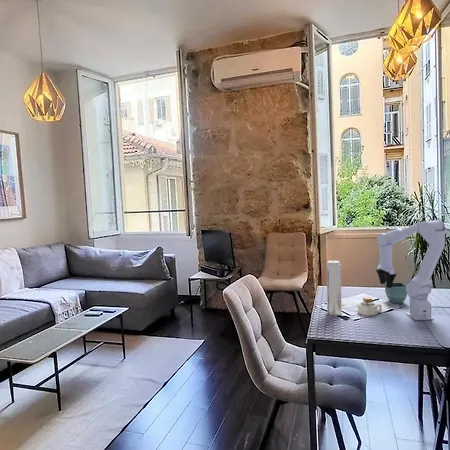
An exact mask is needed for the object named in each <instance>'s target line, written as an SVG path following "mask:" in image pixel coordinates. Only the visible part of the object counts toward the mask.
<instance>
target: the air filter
mask: <svg viewBox="0 0 450 450" xmlns="http://www.w3.org/2000/svg"><path fill="white" fill-rule="evenodd" d="M326 303H327V306H326V307H327V308H326V310H327V315H329V316H332V317H333V316H335V317H336V316H341V315H342V312H343V308H342V307H343V306H342V304H343V303H342V264H341V262H340V261H339V260H327V262H326Z"/></svg>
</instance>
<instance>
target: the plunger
mask: <svg viewBox="0 0 450 450" xmlns="http://www.w3.org/2000/svg"><path fill="white" fill-rule="evenodd" d="M362 302H365V303H362V305H363V306H373V304H372V303H373V299H372V297H370V296H369V297H368V296H365V297H364V296H363V297H362Z"/></svg>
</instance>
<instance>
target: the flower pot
mask: <svg viewBox="0 0 450 450" xmlns="http://www.w3.org/2000/svg"><path fill="white" fill-rule="evenodd" d="M407 285H408V284H405V283H403V282H401V281H400V282H393V285H392V288H387V286H386V283H385V284H384V290H385V295H386V297H387V300H388V301H389V302H391V303H392V304H403V303H404V302H405V301H406V298H407V296H408V294H407V292H406V286H407Z"/></svg>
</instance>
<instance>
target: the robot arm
mask: <svg viewBox="0 0 450 450" xmlns="http://www.w3.org/2000/svg"><path fill="white" fill-rule="evenodd" d="M447 230H448V229H447V227H446V224H445V223H444V222H443V221H442V220H440V219H435V220H427V221H426V220H425V221H421V222H416V223H414V224H412V225H409V226H407V227H405V228H400V227H399V228H398V227H394V228H393V230H388V231H386V232H385V233H379V235H377V237H376V243H377V244H378V245H379V248H378V249H379V253H378V254H379V264H377V267H376V268H377V269H376V270H375V271H376V273H377V276H378V280H379V283H380V285H385V283H386V286H387V288H392V285H393V283H394V280H395V279H396V277H397V273H395V269H394V267H393V248H394V244H396V243H398V242H401V241H403V240H405V239H406V236H410V235H412V234H416V233H417V234H420V235H421V237H422V238H423V239H424V240H425V242H426V243H428V247H427V249H426V252H425V254H424V257H423V259H422V262H421V264H420V267H419V269H418V272H417V273H416V275H415V276H414V277H413V278H412V279H410V281H409V283H408V284H406V285H407V286H406V292H407V296H408V298H409V312H405V314H406V315H408V316H409V317H410V318H412V319H413V320H414V321H426V320H434V317H432V304H431V302H430V301H429V299H428V297H429V294H430V293H431V292H432V284H433V281H432V280H431V278H432V275H433V273H434V271H435V269H436V267H437V264H438V262H439V260H440V257H441V255H442V253H443V251H444V248H445V245H446V232H447Z"/></svg>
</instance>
